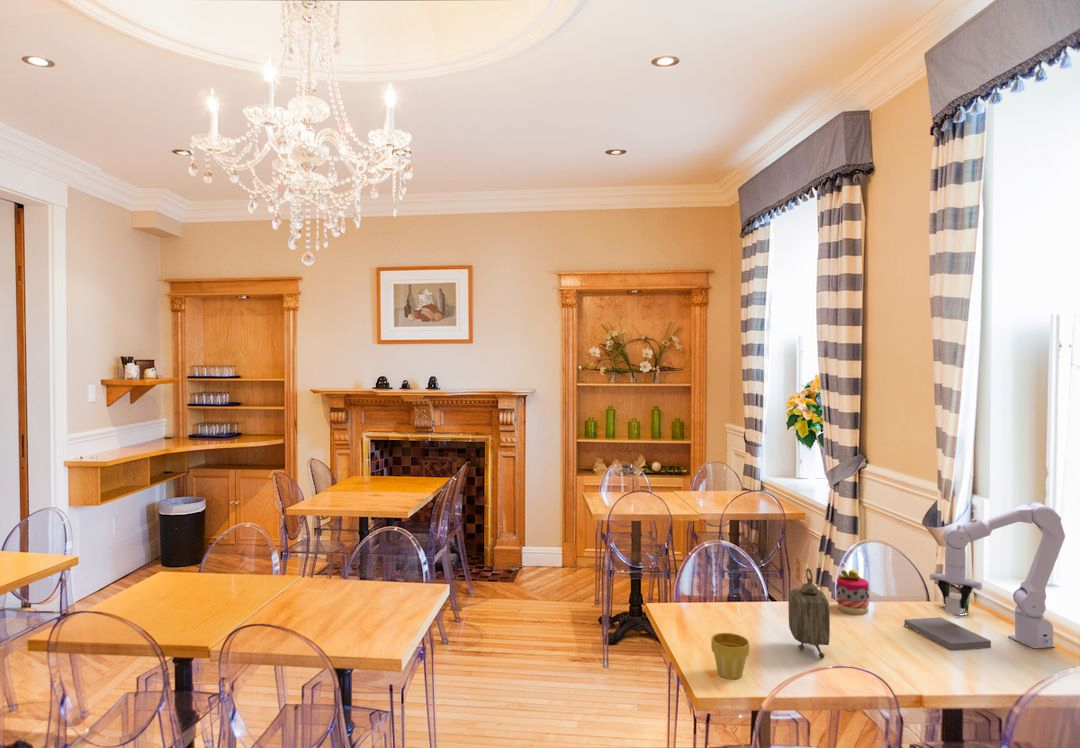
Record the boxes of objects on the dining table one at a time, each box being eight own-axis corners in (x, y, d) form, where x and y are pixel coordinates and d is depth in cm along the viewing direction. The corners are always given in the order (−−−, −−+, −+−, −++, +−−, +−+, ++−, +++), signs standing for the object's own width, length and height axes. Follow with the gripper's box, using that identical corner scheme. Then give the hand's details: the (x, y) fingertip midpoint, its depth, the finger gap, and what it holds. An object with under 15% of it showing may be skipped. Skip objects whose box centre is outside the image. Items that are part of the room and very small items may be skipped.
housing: (959, 615, 209) (959, 600, 209) (945, 612, 212) (945, 596, 212) (965, 609, 214) (965, 594, 214) (951, 606, 217) (951, 591, 217)
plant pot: (755, 682, 177) (755, 646, 177) (718, 683, 176) (718, 647, 176) (740, 665, 187) (740, 631, 187) (706, 666, 186) (706, 632, 186)
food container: (980, 617, 225) (980, 589, 226) (962, 617, 226) (962, 588, 226) (958, 605, 238) (958, 578, 238) (941, 604, 238) (941, 577, 238)
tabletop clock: (829, 661, 190) (829, 577, 190) (797, 659, 191) (797, 575, 192) (817, 642, 204) (817, 563, 204) (787, 639, 206) (787, 561, 206)
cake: (836, 603, 239) (837, 563, 239) (868, 607, 235) (868, 566, 235) (836, 612, 230) (836, 570, 230) (869, 617, 225) (869, 574, 225)
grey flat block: (990, 647, 200) (990, 640, 200) (951, 650, 198) (951, 643, 198) (940, 623, 220) (940, 617, 220) (904, 625, 218) (904, 619, 218)
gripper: (984, 567, 210) (984, 608, 210) (934, 558, 221) (933, 597, 221) (978, 571, 205) (978, 614, 205) (927, 562, 216) (927, 602, 216)
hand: (955, 606), depth 213 cm, fingers closed on housing, 4 cm apart
